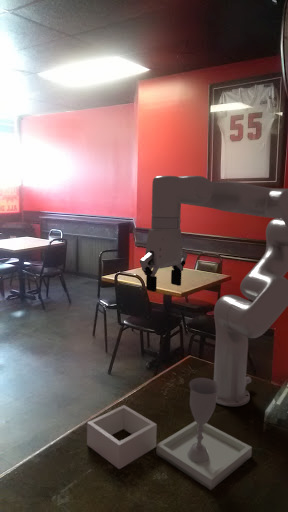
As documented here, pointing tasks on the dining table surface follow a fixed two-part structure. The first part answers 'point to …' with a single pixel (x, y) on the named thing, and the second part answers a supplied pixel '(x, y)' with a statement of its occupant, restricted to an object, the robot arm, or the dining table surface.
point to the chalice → (201, 413)
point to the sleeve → (128, 447)
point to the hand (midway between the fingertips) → (163, 287)
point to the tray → (218, 447)
